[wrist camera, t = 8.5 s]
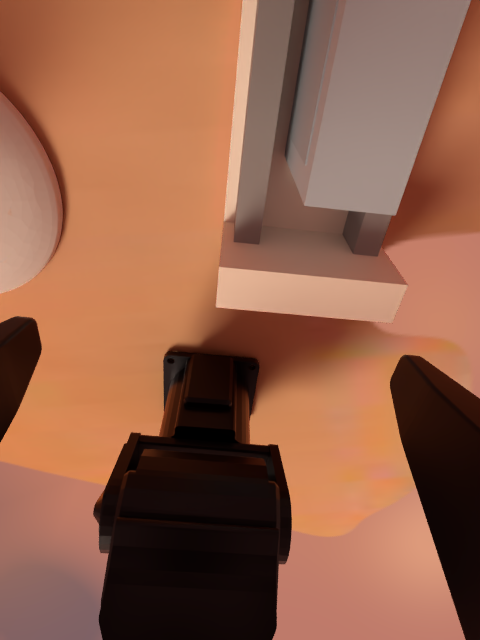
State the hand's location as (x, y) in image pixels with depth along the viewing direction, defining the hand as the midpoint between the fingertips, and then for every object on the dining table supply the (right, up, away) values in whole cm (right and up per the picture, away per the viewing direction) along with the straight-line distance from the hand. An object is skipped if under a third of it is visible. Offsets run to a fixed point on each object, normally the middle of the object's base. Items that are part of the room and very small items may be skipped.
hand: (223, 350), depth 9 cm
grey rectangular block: (+4, +12, +6) cm, 14 cm away
